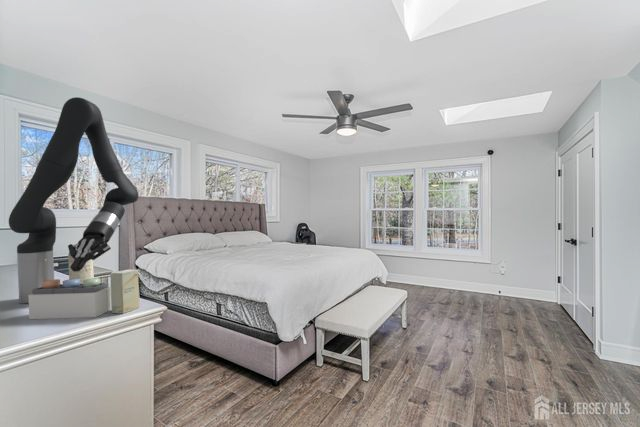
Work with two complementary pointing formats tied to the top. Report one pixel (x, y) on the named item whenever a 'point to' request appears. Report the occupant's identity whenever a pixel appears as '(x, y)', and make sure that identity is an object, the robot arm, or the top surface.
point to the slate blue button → (71, 283)
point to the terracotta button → (51, 284)
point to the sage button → (91, 282)
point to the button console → (69, 302)
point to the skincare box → (124, 291)
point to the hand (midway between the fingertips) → (74, 269)
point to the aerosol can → (84, 273)
